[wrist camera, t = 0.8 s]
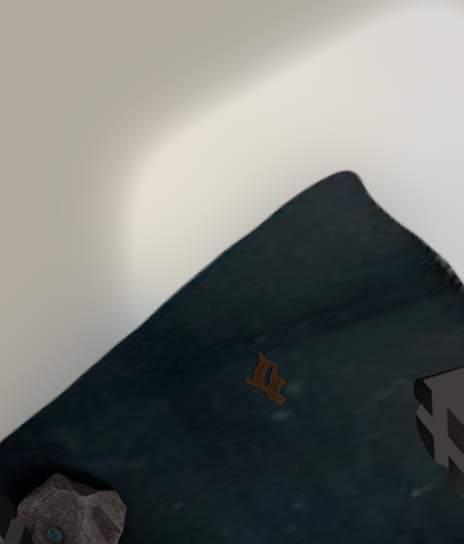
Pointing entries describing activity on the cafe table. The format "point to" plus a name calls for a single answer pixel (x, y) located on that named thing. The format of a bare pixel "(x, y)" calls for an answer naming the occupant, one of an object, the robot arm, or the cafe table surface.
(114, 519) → the rock
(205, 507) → the cafe table surface
